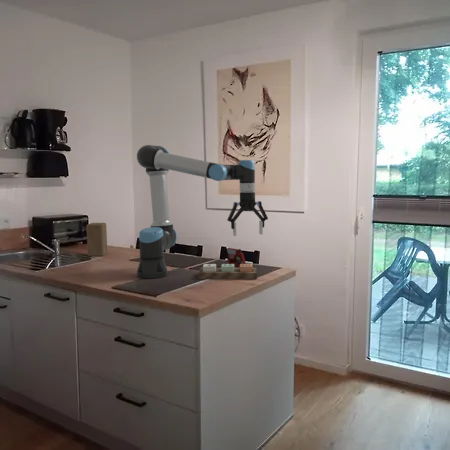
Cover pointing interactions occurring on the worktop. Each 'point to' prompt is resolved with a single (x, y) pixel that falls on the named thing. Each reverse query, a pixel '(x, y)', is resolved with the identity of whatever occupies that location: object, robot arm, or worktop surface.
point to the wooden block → (97, 239)
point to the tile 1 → (209, 268)
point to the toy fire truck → (235, 257)
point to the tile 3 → (246, 268)
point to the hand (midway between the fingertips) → (248, 234)
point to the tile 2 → (227, 268)
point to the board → (227, 274)
